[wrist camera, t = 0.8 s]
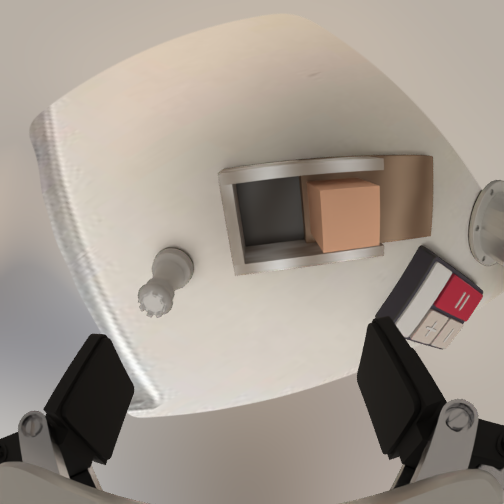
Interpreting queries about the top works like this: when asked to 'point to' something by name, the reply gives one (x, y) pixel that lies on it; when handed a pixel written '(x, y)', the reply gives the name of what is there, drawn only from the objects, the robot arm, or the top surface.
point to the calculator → (431, 301)
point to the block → (344, 213)
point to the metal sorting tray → (297, 208)
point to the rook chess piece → (165, 281)
